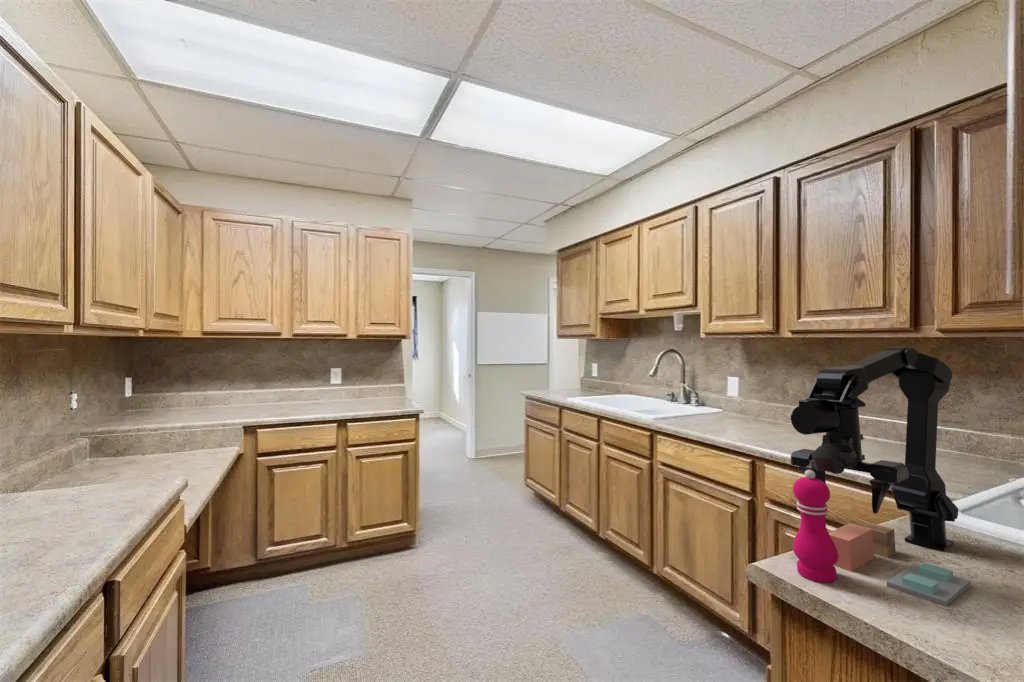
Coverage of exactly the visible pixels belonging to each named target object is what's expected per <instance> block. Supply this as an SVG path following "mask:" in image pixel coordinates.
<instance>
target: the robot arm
mask: <svg viewBox="0 0 1024 682" xmlns="http://www.w3.org/2000/svg"><path fill="white" fill-rule="evenodd" d="M889 374H891V375H892V376H894V377H895V378H896V379H897V380H898V388H899V389H900V390H901V392H902V394H903V395H904V396H905V398H906V399H907V409H906V410H907V411H906V431H905V432H906V434H905V452H904V453H905V455H904V462H897V461H890V460H885V459H884V460H883V459H881V460H878V461H875V462H873V463H872V462H871V463H870V462H865V460H866V456H865V454H863V453H862V451H863V449H862V441H863V440H864V434H861V427H860V426H861V425H860V412H859V408H865V407H866V406H867V405H866V403H865V402H864V401H863V400H862V399H860V398H859V396H861V395H862V394H864V393H865V392H866V391H867V390H869V384H870V383H872V382H874V381H877V380H878V379H880V378H882V377H885V376H887V375H889ZM952 379H953V372H952V369H951V368H950V366H948V365H946V363H944V362H942V361H941V360H939V358H936V357H933V356H930V355H927V354H924V353H922V352H919V351H918V350H917V349H915V348H913V347H909V346H896V347H894V346H893V347H892V346H889V347H887V348H884V349H883V350H882V351H880V352H878V353H876V354H873V355H871V356H869V357H866V358H863V359H861V360H859V361H856V362H854V363H852V364H848V365H842V366H833V367H832V366H831V367H828V368H823V369H820V370H819V371H817V376H816V377H815V379H814V382H813V383H812V386H811V388H810V390H809V392H808V394H807V396H806V398H805V399H799V400H798V406H796V407H794V409H793V410H792V413H791V415H790V423H791V425H792V426H793V429H794V430H796V432H798V433H799V434H802V435H804V436H805V435H806V436H808V435H815V434H823V435H822V443H821V445H819V446H818V447H817V448H816V449H815V450H814V449H807V448H802V449H798V450H796V451H795V450H794V451H793V452H792V453H791V455H790V465H792V466H796V467H797V469H798V470H799V471H802V472H803V473H805V471H806V470H812V471H814V472H815V475H816V476H815V478H816V479H819V480H821V481H823V482H824V483H825V484H826V483H827V482H826V481H827V480H826V472H828V473H829V472H830V473H832V474H834V475H840V474H842V473H843V472H844V471H845V469H846V470H849V471H857V472H863V473H869V474H870V476H871V477H872V479H869V480H868V482H869V484H870V486H871V507H872V508H871V509H872V510H871V511H872V513H873V514H878V513H879V510H880V508H881V506H882V503H883V501H884V499H885V496H886V495H887V492H888V491H889V490H890V489H891V492H892V493H891V494H892V496H893V499H894V502H895V504H896V508H897V510H899V511H900V510H901V511H905V512H908V514H909V515H908V516H909V528H910V534H909V535H908V536H905V537H904V539H903V540H904V541H905V542H908V543H913V544H916V545H919V546H924V547H927V548H931V549H935V550H938V551H942V552H944V551H946V549H948V548H950V547H951V546H953V545H954V541H953V540H951V539H947V528H946V522H956V519H958V516H959V508H958V507H957V505H956V504H955V503H954V502H953V501H952V500H951V499H950V497H948V495H947V492H946V491H947V489H946V483H945V481H944V479H942V477H941V476H940V475H939V473H938V471H937V470H936V463H937V462H936V460H937V442H938V441H937V437H938V436H937V435H938V434H937V433H938V416H939V415H938V414H939V413H938V412H939V411H938V410H939V403H940V401H941V400H942V399H943V398H944V397H946V394H948V393H949V390H950V386H951V381H952ZM824 433H825V434H824ZM826 485H827V484H826Z"/></svg>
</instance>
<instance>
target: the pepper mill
mask: <svg viewBox="0 0 1024 682" xmlns="http://www.w3.org/2000/svg"><path fill="white" fill-rule="evenodd" d="M815 476H816V475H815V472H814V471H812V470H806V471H805V472H804V477H800V478H798V479H796V480H795V481H794V483H793V485H792V493H793V495H794V497H795V499H797V502H796V505H797V507H796V509H797V511H798V512H799V513H800V525H799V528H798V531H797V532H796V535H795V537H794V539H793V544H792V551H793V554H794V555H795V556H796V558H797V559H798V560H796V570H797V573H798V574H799V575H800V576H801V577H803V578H805V579H808V581H809V580H810V581H812V582H818V583H826V584H829V583H833V582H835V581H836V580H837V567H836V566H833V565H834V564H835V563H836V562H837V561H838V552H837V548H836V546H835V544H834V542H833V540H832V538H831V537H830V535H829V531H828V528H827V524H826V517H827V516H826V515H828V513H829V510H828V509H829V506H828V504H827V503H828V501H830V500H831V499H830V498H831V490H830V489H829V487H828V485H827V484H825V483H824V482H823V481H821V480H819V479H816V478H815Z"/></svg>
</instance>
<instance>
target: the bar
mask: <svg viewBox="0 0 1024 682" xmlns="http://www.w3.org/2000/svg"><path fill="white" fill-rule="evenodd" d="M828 533H829V535H830V537H831V538H832V540H833V542H834V544H835V546H836V548H837V552H838V561H837V562H836V563H835V564H834V567H836V566H837V567H836V568H839V567H840V569H842V570H845V571H848V572H853V571H854V570H856V569H857V568H860V567H861V566H862V565H865V564H866V563H868V562H870V561H871V560H873V559H874V558H875V554H874V548H873V534H872V529H871V528H867V527H864V526H863V525H858V524H856V523H855V524H854V523H851V522H848V523H847V524H844V525H843V526H842V525H841V526H840V527H838V528H836V529H834V530H832V531H828ZM869 560H870V561H869ZM859 566H860V567H859Z"/></svg>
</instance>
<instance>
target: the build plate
mask: <svg viewBox="0 0 1024 682" xmlns="http://www.w3.org/2000/svg"><path fill="white" fill-rule="evenodd" d="M971 585H972V581H971V580H970V579H968V578H964V577H960V576H957V575H954V570H952V569H950V568H949V569H948V568H944V567H941V566H938V565H934V564H931V563H927V562H923V563H922V564H917V563H912V564H910V565H909V566H907V567H906V568H904V569H903V570H901V571H900V572H898V573H897V574H896V575H894V576H892V577H891V578H889V579H888V580H887V581H886V587H888V588H891V589H894V590H898V591H901V592H903V593H906V594H909V595H910V596H915V597H917V598H921V599H923V600H926V601H929V602H932V603H936V604H938V605H941V606H943V607H948V606H949V605H950V604H952V602H954V601H955V600H956V599H957V598H958V597H959V596H960V595H962V594H964V592H965V591H966V590H967V589H969V587H970V586H971Z"/></svg>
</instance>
